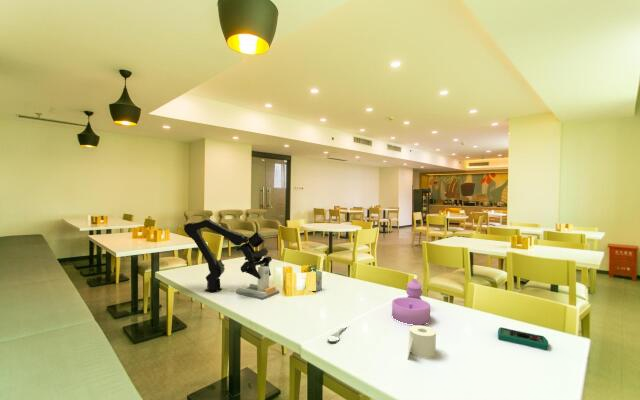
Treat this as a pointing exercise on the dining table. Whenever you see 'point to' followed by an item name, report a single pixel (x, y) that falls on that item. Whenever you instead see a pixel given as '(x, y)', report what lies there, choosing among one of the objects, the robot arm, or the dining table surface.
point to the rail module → (263, 278)
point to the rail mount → (257, 292)
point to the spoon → (336, 334)
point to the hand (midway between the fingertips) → (265, 277)
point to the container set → (411, 306)
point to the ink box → (317, 277)
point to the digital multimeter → (523, 338)
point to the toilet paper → (422, 341)
